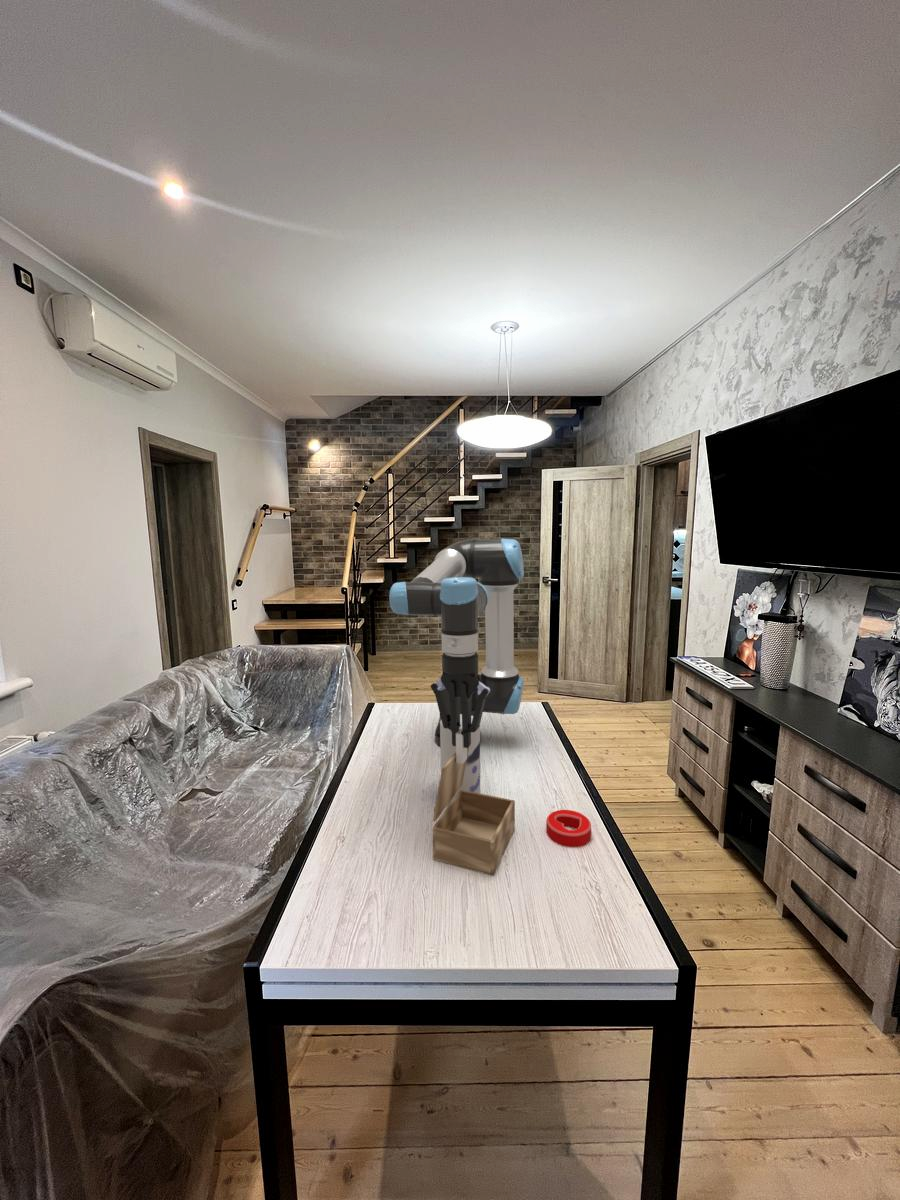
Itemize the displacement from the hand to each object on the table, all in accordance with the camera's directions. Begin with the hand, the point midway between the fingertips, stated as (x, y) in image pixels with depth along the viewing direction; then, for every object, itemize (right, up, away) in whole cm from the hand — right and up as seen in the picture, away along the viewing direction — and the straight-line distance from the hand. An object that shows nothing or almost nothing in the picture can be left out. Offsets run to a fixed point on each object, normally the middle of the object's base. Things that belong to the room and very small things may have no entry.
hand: (461, 760), depth 103 cm
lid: (-2, -4, +1) cm, 5 cm away
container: (0, -16, +21) cm, 26 cm away
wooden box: (+3, -18, +1) cm, 19 cm away
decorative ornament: (+24, -18, +5) cm, 30 cm away
